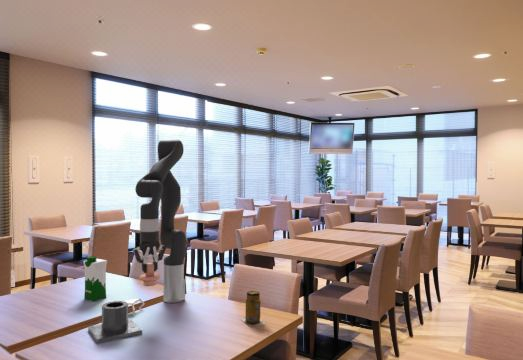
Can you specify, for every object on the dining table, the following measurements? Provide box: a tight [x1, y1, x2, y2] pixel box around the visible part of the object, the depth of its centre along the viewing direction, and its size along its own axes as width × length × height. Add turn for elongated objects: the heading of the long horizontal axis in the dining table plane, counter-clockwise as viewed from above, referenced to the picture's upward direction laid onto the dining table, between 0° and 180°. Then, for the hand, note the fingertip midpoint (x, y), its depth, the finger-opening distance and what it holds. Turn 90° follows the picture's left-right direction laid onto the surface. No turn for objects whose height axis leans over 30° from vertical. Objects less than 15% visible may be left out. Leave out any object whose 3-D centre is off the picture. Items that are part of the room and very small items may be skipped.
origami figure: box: [124, 298, 146, 316], centre depth 182 cm, size 12×8×5 cm
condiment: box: [240, 290, 267, 327], centre depth 172 cm, size 7×8×12 cm
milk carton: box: [82, 255, 108, 302], centre depth 200 cm, size 9×9×20 cm
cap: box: [139, 262, 161, 287], centre depth 171 cm, size 8×8×8 cm
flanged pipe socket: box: [87, 300, 143, 344], centre depth 159 cm, size 16×14×10 cm
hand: (149, 271), depth 171 cm, fingers closed on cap, 3 cm apart
